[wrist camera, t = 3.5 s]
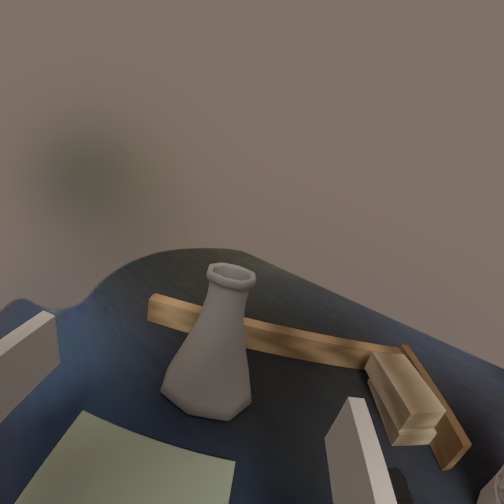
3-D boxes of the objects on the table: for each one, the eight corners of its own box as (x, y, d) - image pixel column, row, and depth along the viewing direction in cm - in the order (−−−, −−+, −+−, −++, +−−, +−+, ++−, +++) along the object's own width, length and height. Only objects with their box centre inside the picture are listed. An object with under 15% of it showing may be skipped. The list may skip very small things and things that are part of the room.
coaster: (233, 466, 15) (235, 461, 14) (208, 606, 5) (209, 606, 5) (84, 415, 15) (82, 410, 15) (9, 521, 5) (4, 517, 5)
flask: (186, 351, 26) (204, 246, 23) (261, 380, 24) (294, 273, 22) (142, 395, 19) (152, 267, 16) (236, 436, 17) (276, 309, 15)
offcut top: (396, 370, 27) (404, 354, 26) (434, 427, 18) (446, 410, 17) (364, 368, 26) (372, 351, 26) (398, 431, 18) (410, 413, 17)
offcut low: (396, 389, 26) (404, 374, 26) (424, 449, 18) (437, 433, 17) (364, 386, 26) (372, 371, 26) (387, 451, 18) (399, 434, 17)
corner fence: (397, 366, 30) (407, 345, 29) (450, 469, 14) (472, 444, 13) (152, 314, 30) (155, 288, 30) (71, 409, 15) (65, 377, 14)
